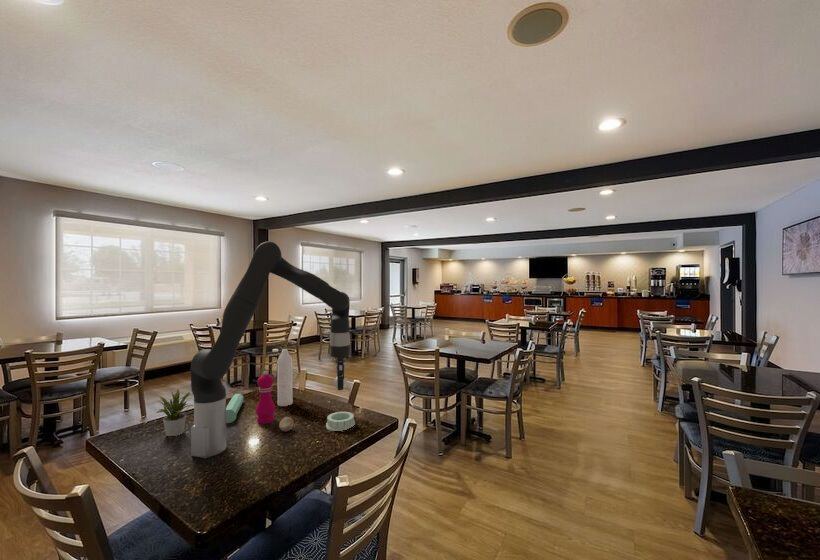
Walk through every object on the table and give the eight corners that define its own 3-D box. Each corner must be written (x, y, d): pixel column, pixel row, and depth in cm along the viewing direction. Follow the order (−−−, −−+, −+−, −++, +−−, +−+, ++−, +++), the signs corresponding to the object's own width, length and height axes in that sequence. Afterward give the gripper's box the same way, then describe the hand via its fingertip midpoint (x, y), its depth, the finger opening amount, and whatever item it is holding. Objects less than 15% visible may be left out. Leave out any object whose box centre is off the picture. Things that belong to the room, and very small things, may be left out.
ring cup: (346, 433, 129) (346, 423, 129) (320, 429, 132) (320, 420, 132) (359, 421, 140) (359, 413, 140) (335, 418, 143) (335, 409, 143)
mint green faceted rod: (234, 389, 162) (223, 407, 139) (247, 393, 164) (238, 411, 140) (229, 402, 162) (217, 422, 138) (242, 405, 163) (232, 425, 139)
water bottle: (294, 401, 164) (293, 347, 163) (290, 406, 157) (290, 350, 157) (274, 402, 163) (274, 348, 163) (270, 407, 156) (270, 350, 156)
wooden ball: (287, 434, 128) (287, 420, 128) (276, 432, 130) (276, 419, 130) (296, 429, 133) (296, 415, 133) (285, 427, 135) (285, 414, 135)
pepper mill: (270, 424, 137) (270, 373, 137) (252, 424, 137) (252, 373, 137) (278, 417, 144) (277, 368, 144) (260, 417, 145) (260, 368, 145)
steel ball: (343, 391, 133) (342, 378, 133) (331, 390, 134) (331, 377, 134) (349, 387, 138) (349, 374, 138) (337, 386, 139) (337, 373, 139)
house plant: (206, 433, 130) (206, 389, 130) (162, 447, 119) (161, 399, 119) (191, 423, 139) (191, 382, 139) (149, 435, 128) (149, 390, 128)
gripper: (351, 346, 130) (351, 392, 130) (348, 340, 144) (349, 381, 144) (330, 347, 128) (330, 394, 128) (330, 341, 142) (330, 383, 142)
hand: (340, 387), depth 136 cm, fingers closed on steel ball, 5 cm apart
